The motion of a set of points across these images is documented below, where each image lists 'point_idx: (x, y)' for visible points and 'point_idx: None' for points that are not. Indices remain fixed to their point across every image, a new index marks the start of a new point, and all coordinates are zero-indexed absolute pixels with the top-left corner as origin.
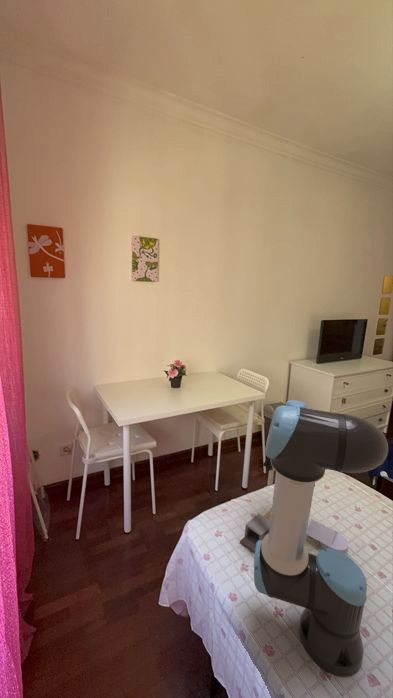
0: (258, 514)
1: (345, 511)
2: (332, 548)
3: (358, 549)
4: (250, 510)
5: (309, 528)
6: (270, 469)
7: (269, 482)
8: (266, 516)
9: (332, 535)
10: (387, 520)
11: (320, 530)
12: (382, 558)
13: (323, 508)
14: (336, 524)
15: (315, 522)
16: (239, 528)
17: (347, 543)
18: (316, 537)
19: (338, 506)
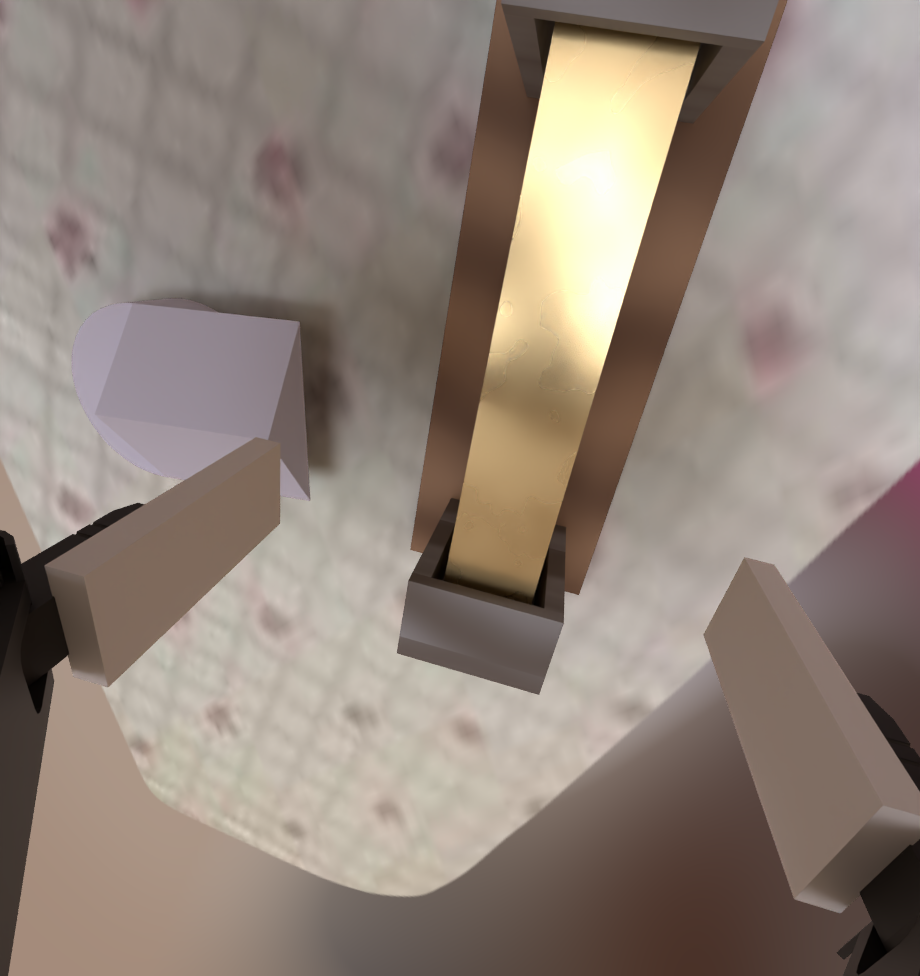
0: (761, 7)
1: (254, 682)
2: (125, 303)
3: (105, 449)
4: (812, 385)
5: (278, 368)
6: (899, 866)
7: (767, 599)
8: (637, 138)
9: (119, 379)
10: (108, 700)
11: (198, 382)
12: (16, 455)
13: (346, 657)
14: (250, 571)
15: (236, 425)
16: (883, 62)
17: (88, 409)
18: (225, 326)
19: (292, 702)
